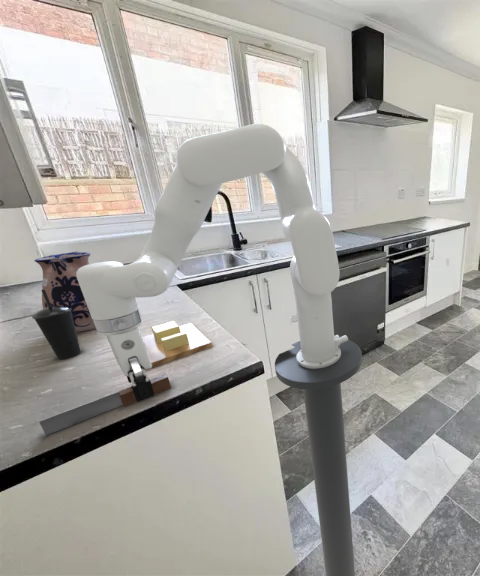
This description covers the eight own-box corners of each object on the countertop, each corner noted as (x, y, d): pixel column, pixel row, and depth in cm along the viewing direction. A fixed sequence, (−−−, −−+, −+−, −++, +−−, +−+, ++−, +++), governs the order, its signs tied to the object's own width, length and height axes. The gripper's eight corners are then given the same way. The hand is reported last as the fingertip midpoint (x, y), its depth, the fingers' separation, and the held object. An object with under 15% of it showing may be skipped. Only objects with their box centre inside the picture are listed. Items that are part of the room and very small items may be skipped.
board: (191, 326, 105) (190, 322, 105) (212, 346, 92) (211, 342, 92) (133, 343, 94) (132, 339, 94) (147, 369, 81) (146, 364, 81)
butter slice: (187, 341, 92) (184, 331, 91) (189, 344, 91) (186, 333, 90) (163, 349, 88) (160, 338, 87) (165, 351, 87) (162, 340, 86)
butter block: (176, 330, 99) (173, 320, 98) (181, 336, 95) (179, 326, 94) (154, 337, 95) (151, 326, 94) (158, 343, 91) (155, 332, 90)
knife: (169, 383, 75) (165, 371, 74) (171, 387, 74) (167, 375, 73) (45, 432, 61) (39, 418, 60) (45, 438, 60) (38, 424, 59)
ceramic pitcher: (47, 344, 95) (13, 265, 87) (62, 320, 111) (35, 253, 103) (119, 328, 105) (95, 256, 96) (123, 309, 121) (103, 246, 113)
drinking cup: (47, 365, 84) (16, 297, 77) (55, 353, 90) (27, 288, 83) (84, 356, 88) (58, 290, 81) (89, 345, 94) (66, 283, 87)
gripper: (149, 327, 62) (170, 397, 67) (133, 305, 73) (152, 367, 79) (99, 341, 56) (127, 416, 62) (90, 315, 68) (114, 380, 74)
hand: (141, 388), depth 70 cm, fingers open, 9 cm apart
